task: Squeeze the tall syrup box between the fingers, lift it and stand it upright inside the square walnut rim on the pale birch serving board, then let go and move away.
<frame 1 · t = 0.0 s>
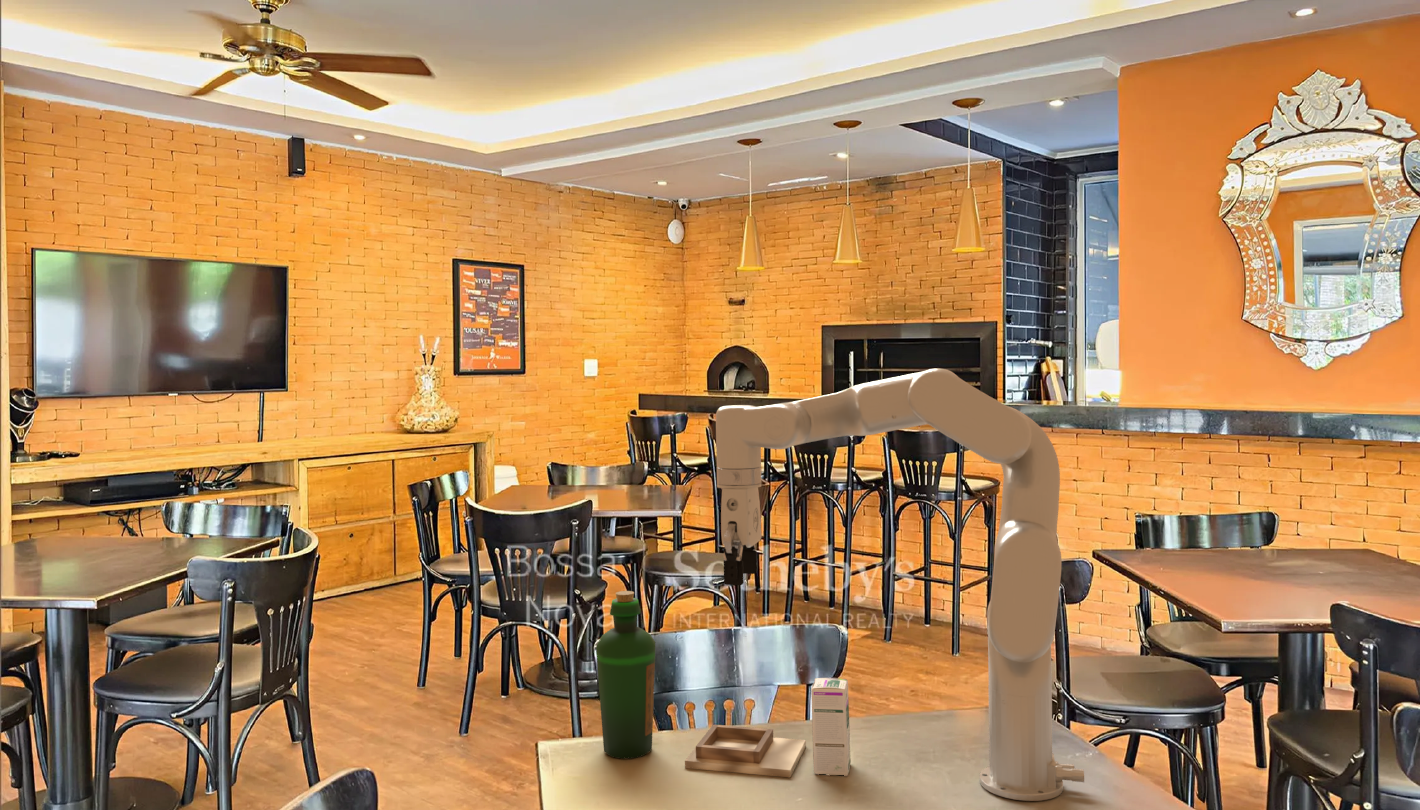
hand: (740, 578, 168), 31 cm above the table, tool pointing down, fingers open, 9 cm apart
syrup box: (831, 770, 165), on the table
bottle: (628, 752, 175), on the table
stand board: (746, 757, 171), on the table
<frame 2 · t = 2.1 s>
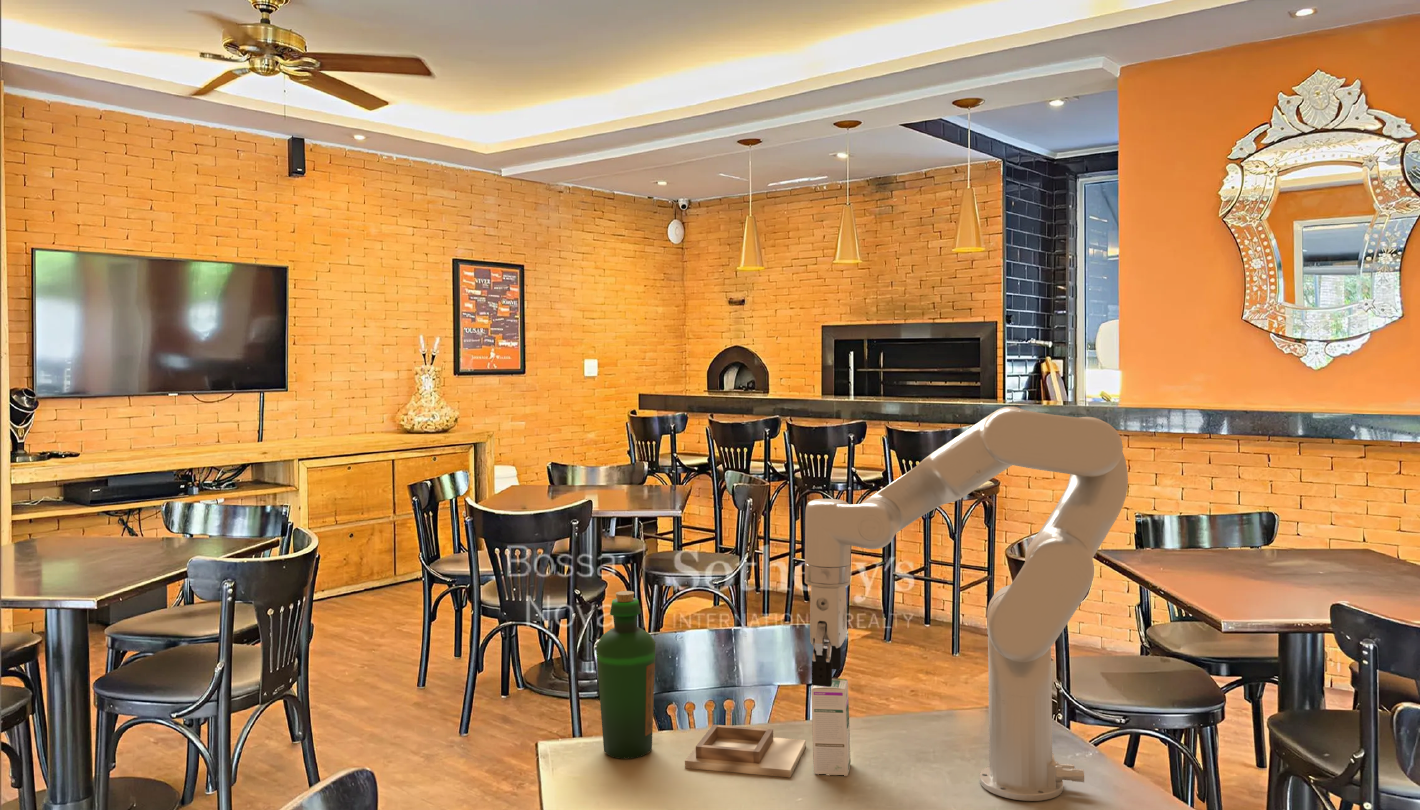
hand: (826, 676, 165), 15 cm above the table, tool pointing down, fingers open, 9 cm apart
nothing on the table moved.
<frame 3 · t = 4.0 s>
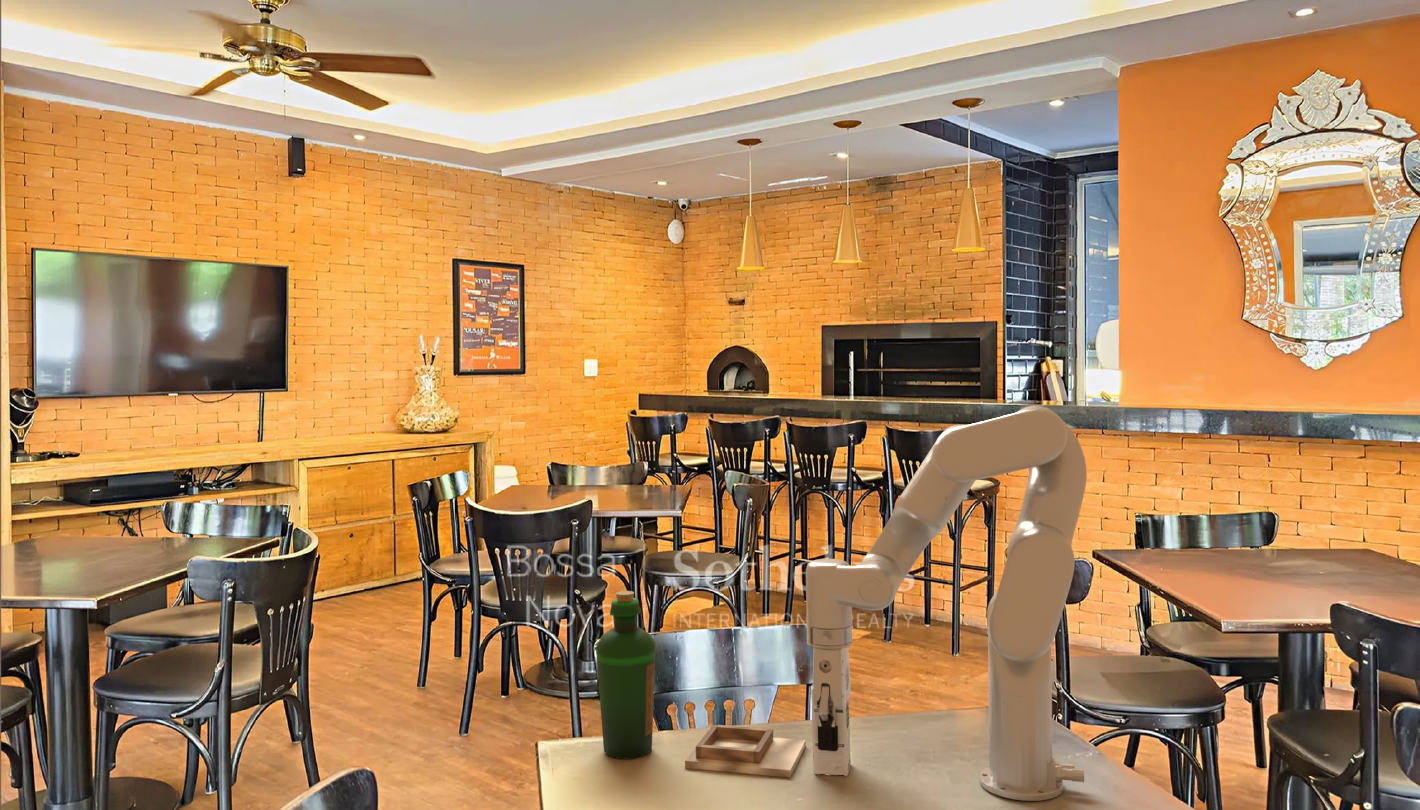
hand: (831, 741, 165), 5 cm above the table, tool pointing down, fingers closed on syrup box, 6 cm apart
syrup box: (831, 770, 165), on the table, touching gripper
everything else where it was.
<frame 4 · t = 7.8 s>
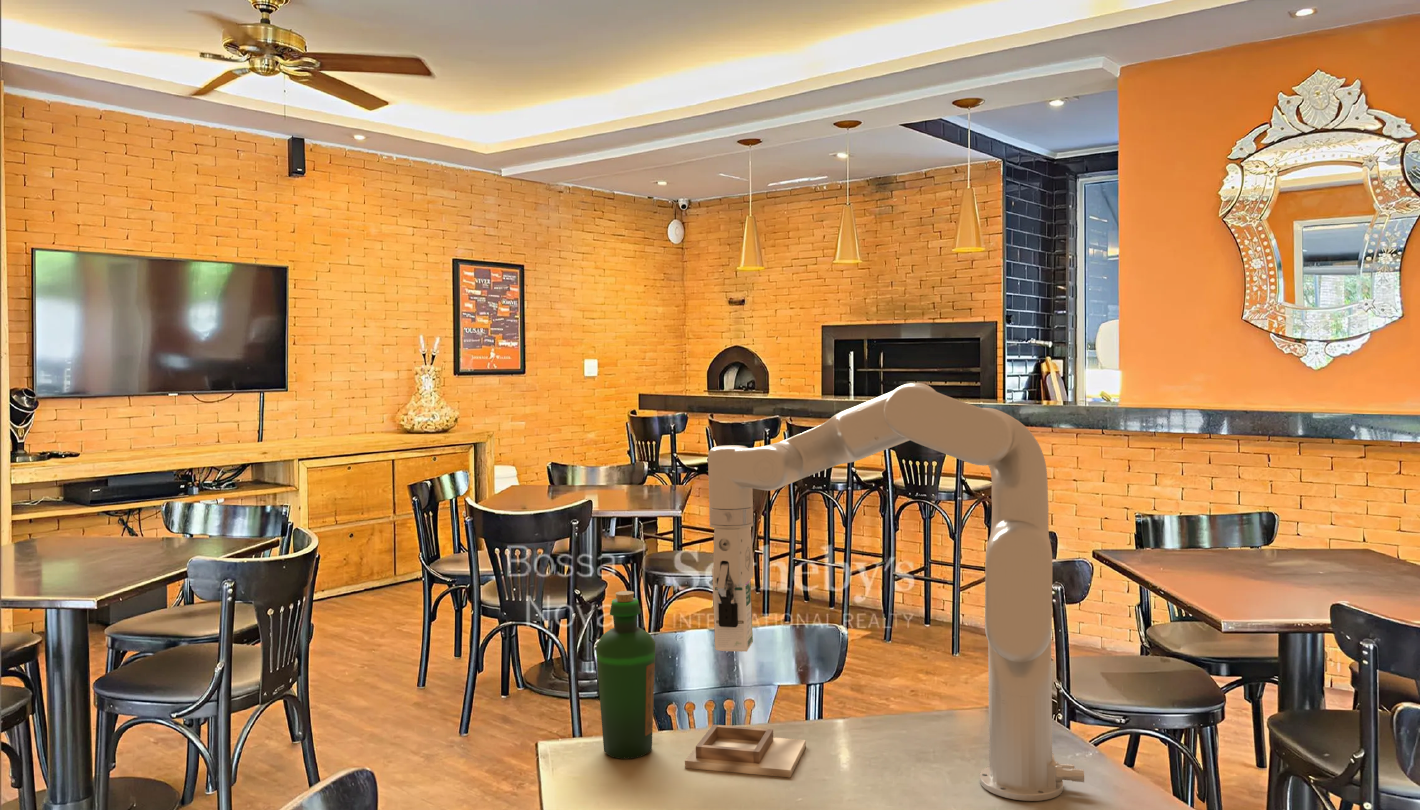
hand: (733, 620, 171), 23 cm above the table, tool pointing down, fingers closed on syrup box, 5 cm apart
syrup box: (733, 648, 171), point 19 cm above the table, touching gripper
everything else where it was.
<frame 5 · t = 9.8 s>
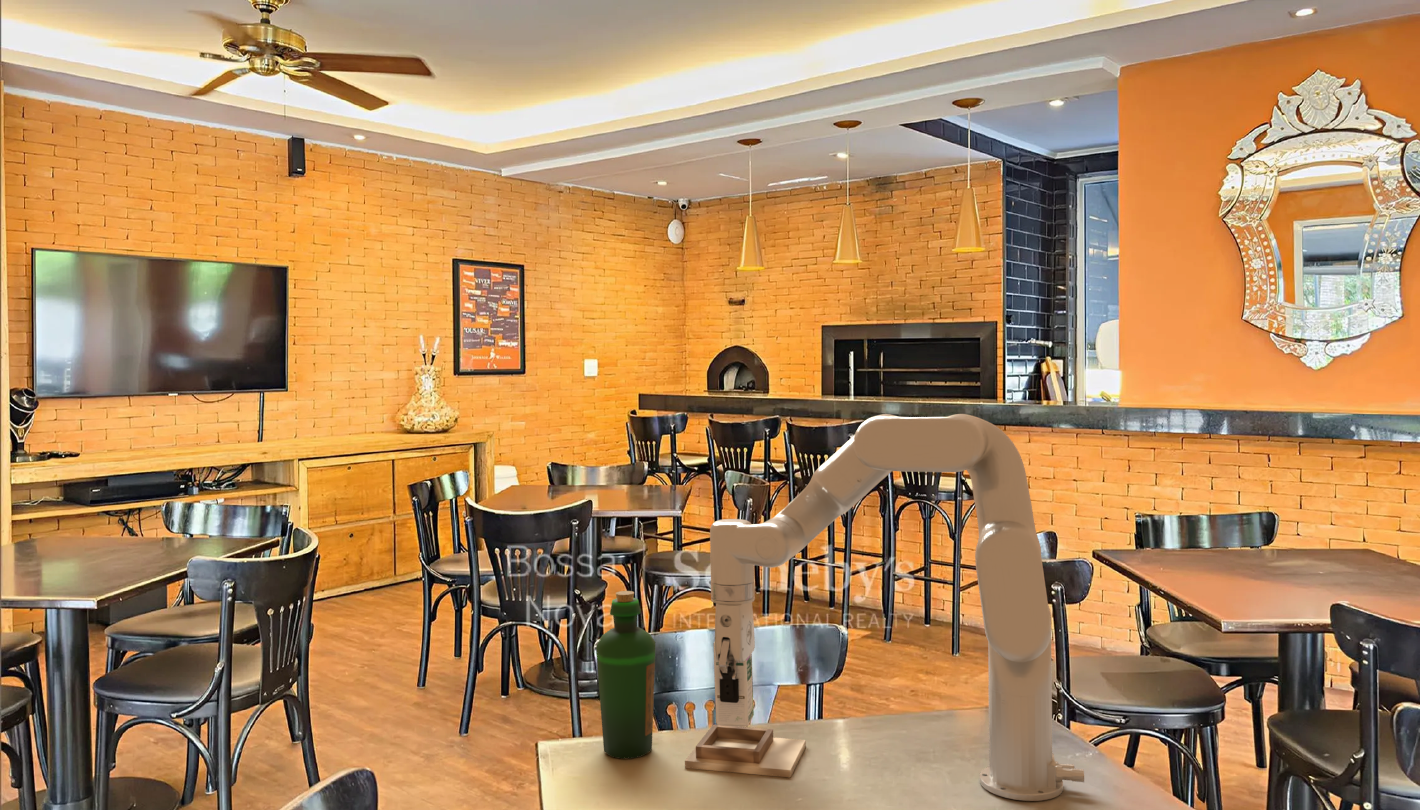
hand: (734, 694, 171), 11 cm above the table, tool pointing down, fingers closed on syrup box, 5 cm apart
syrup box: (734, 722, 171), point 6 cm above the table, touching gripper
everything else where it was.
when the fingers open (7 cm above the table, at t = 11.5 s): syrup box drops 1 cm, resting on stand board.
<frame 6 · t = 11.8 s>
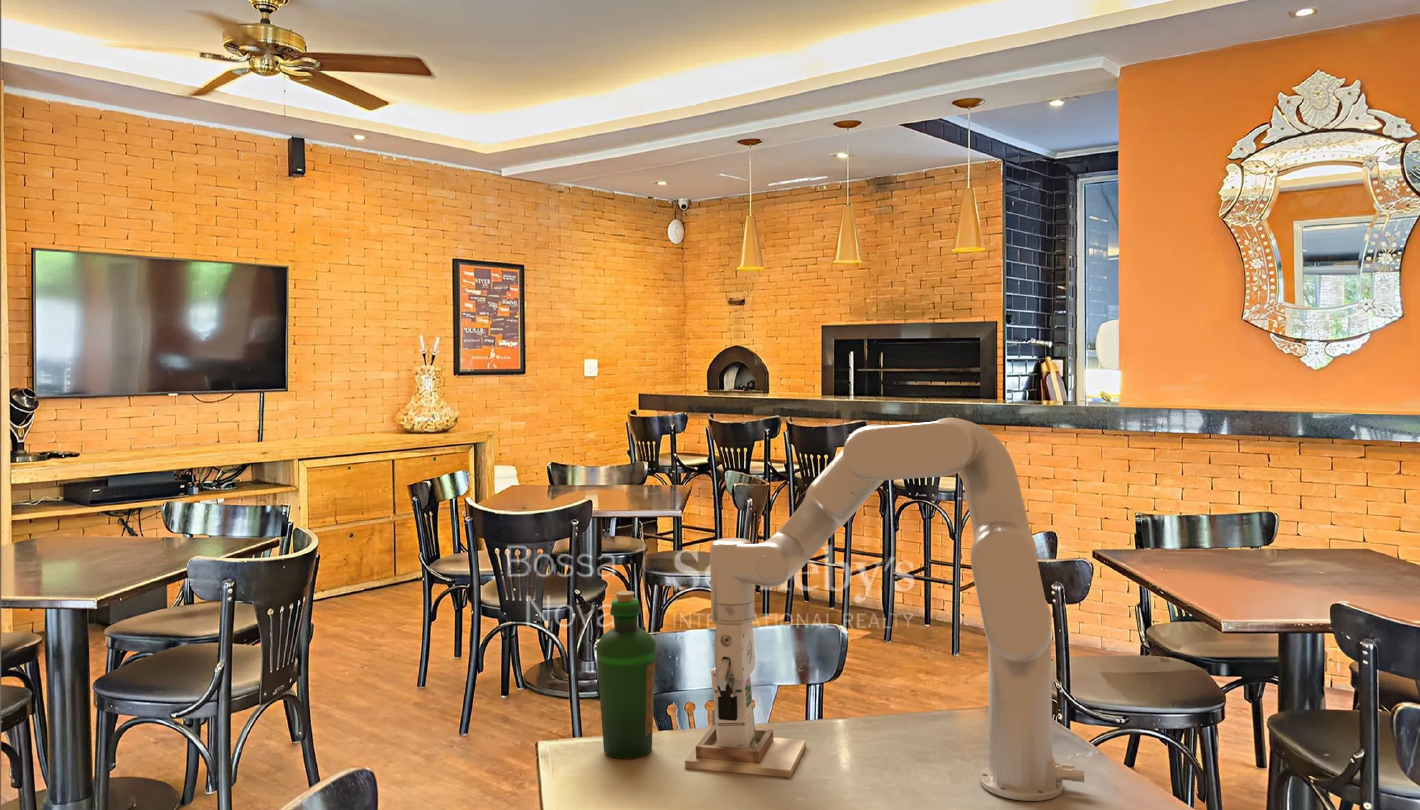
hand: (734, 710, 171), 8 cm above the table, tool pointing down, fingers open, 8 cm apart
syrup box: (736, 749, 171), point 1 cm above the table, touching stand board
everything else where it was.
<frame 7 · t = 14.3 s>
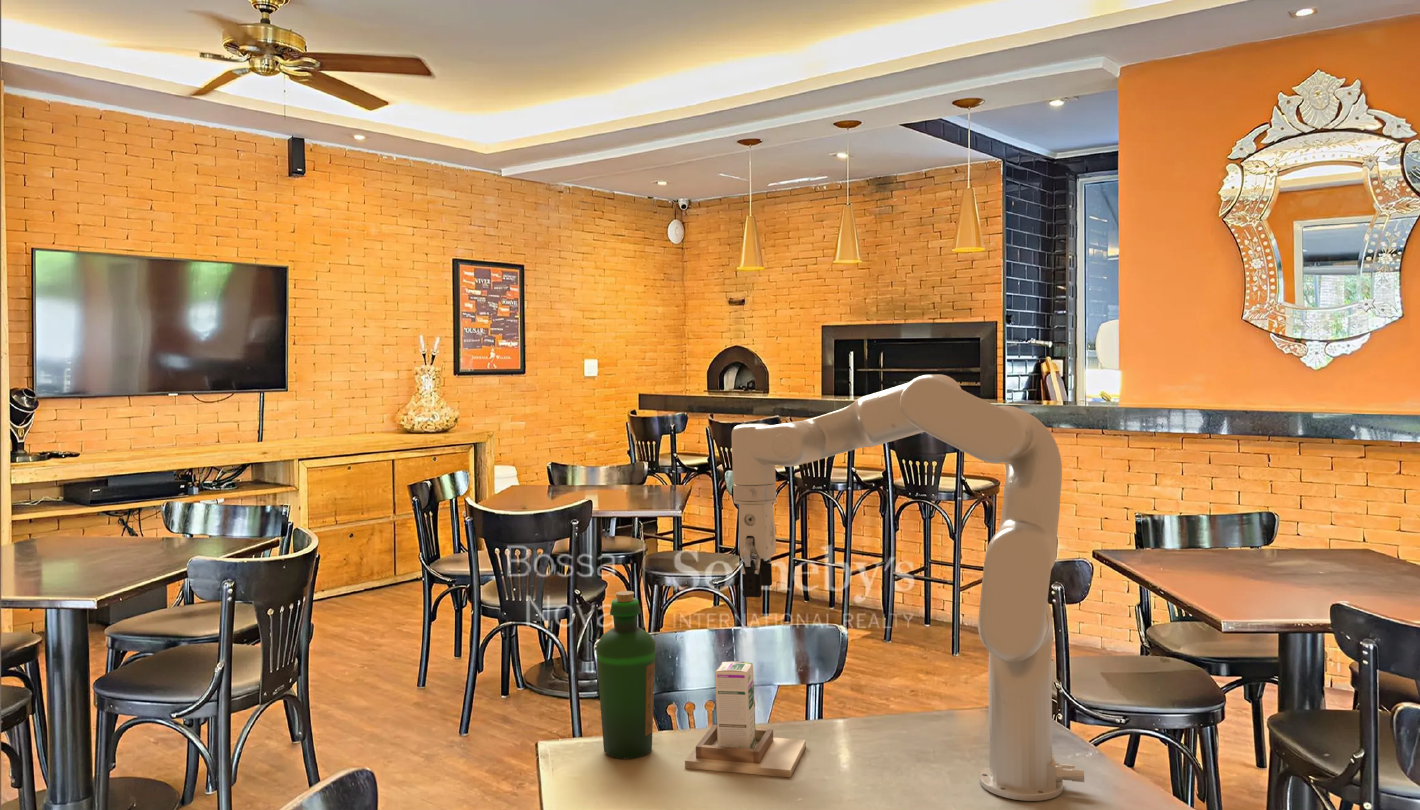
hand: (757, 591, 175), 28 cm above the table, tool pointing down, fingers open, 9 cm apart
nothing on the table moved.
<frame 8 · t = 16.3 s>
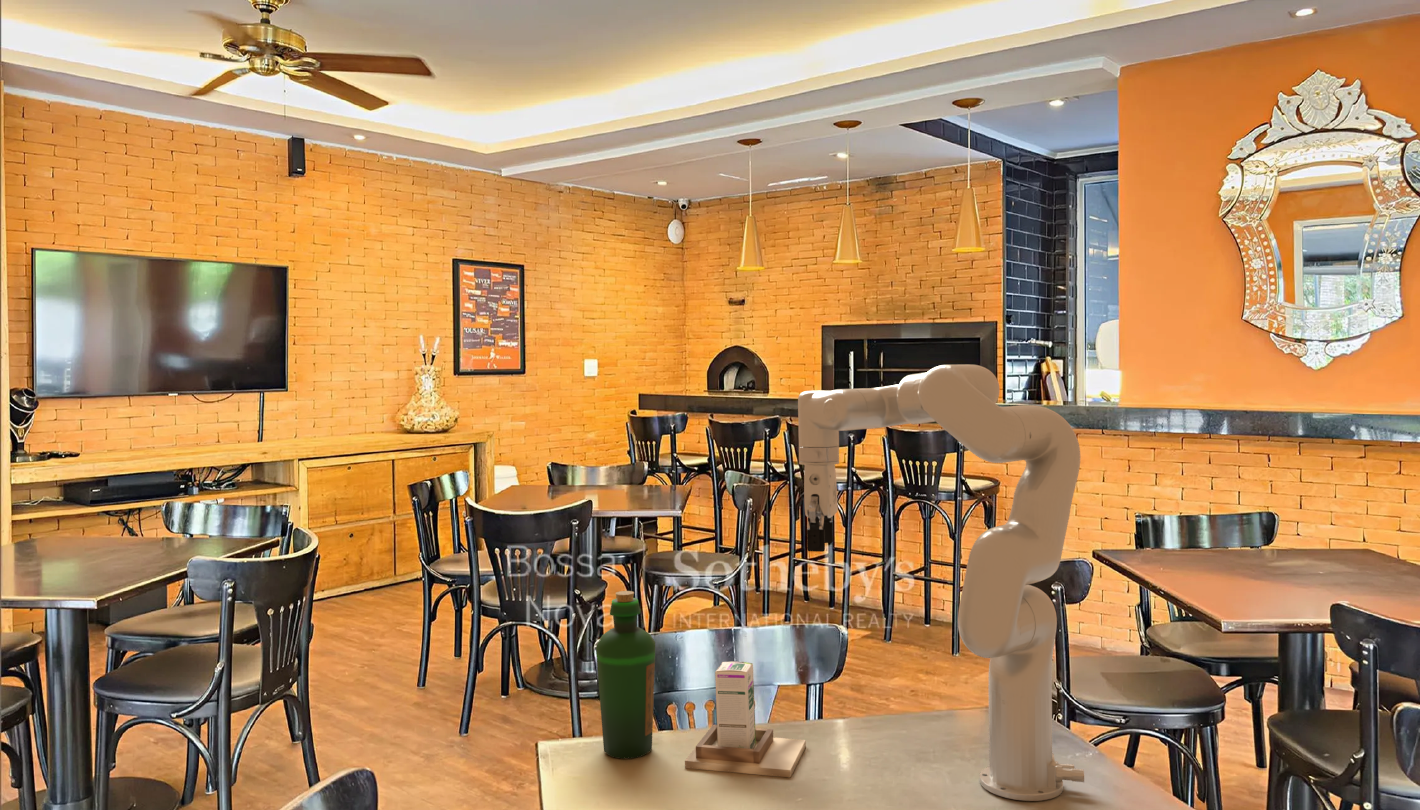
hand: (820, 546, 187), 33 cm above the table, tool pointing down, fingers open, 9 cm apart
nothing on the table moved.
at the end: syrup box 0.2 cm from the target spot on the stand board, point 1.0 cm above the stand board's base; syrup box tilted 0°; the gripper is holding nothing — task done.
